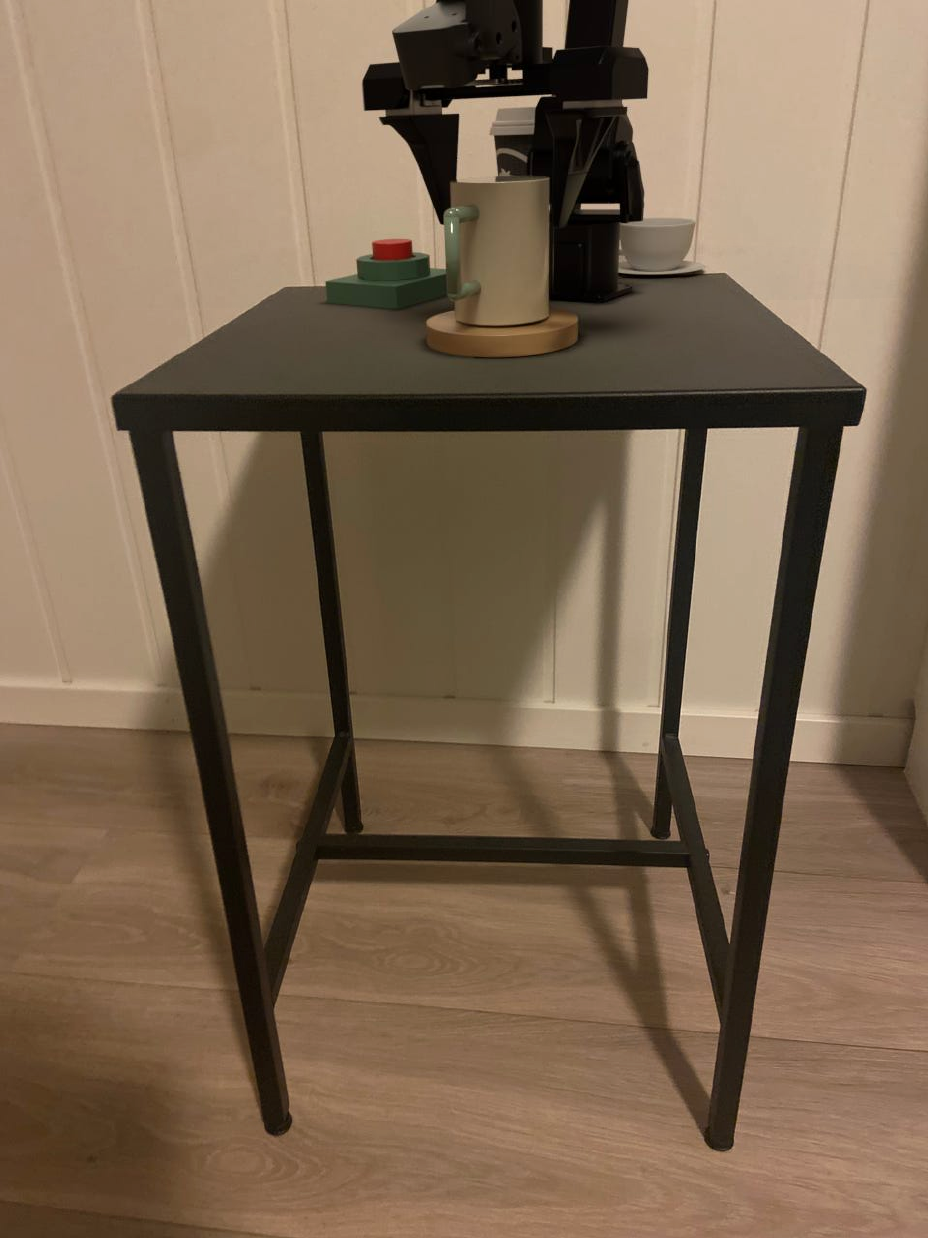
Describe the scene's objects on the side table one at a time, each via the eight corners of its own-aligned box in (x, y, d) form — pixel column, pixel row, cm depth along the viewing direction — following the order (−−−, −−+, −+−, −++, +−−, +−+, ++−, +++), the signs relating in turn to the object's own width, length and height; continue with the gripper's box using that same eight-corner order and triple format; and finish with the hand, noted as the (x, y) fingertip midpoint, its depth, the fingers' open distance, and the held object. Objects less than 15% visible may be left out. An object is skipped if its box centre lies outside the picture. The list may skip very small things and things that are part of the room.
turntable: (479, 320, 75) (479, 301, 74) (603, 332, 69) (604, 311, 69) (396, 348, 67) (395, 327, 66) (529, 363, 62) (529, 340, 61)
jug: (498, 301, 73) (496, 173, 68) (576, 307, 69) (578, 173, 65) (411, 328, 65) (402, 185, 60) (494, 337, 61) (491, 186, 57)
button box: (394, 286, 92) (391, 248, 90) (461, 290, 88) (460, 251, 86) (327, 302, 85) (323, 262, 83) (397, 309, 81) (394, 266, 79)
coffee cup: (584, 288, 87) (589, 104, 80) (484, 288, 89) (479, 108, 82) (593, 272, 95) (598, 104, 88) (500, 273, 97) (498, 108, 90)
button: (389, 257, 87) (388, 237, 86) (420, 259, 85) (419, 239, 85) (365, 263, 85) (363, 242, 84) (397, 265, 83) (395, 243, 82)
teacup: (715, 265, 96) (719, 216, 94) (690, 280, 88) (694, 227, 86) (621, 263, 100) (623, 215, 98) (590, 277, 92) (591, 226, 90)
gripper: (293, -44, 56) (321, 235, 64) (569, -88, 47) (564, 245, 54) (404, -28, 64) (418, 218, 72) (659, -63, 55) (644, 224, 62)
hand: (500, 225), depth 65 cm, fingers open, 9 cm apart
